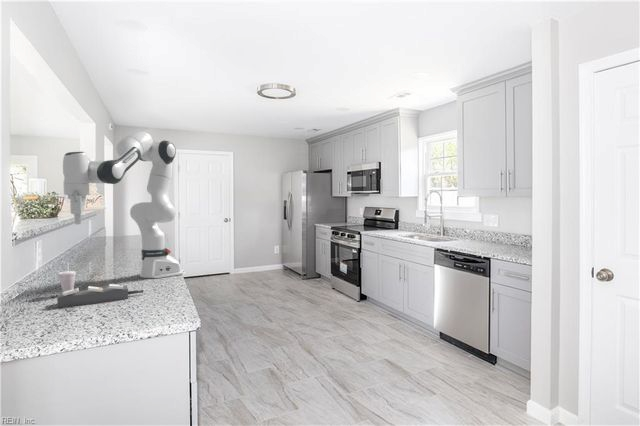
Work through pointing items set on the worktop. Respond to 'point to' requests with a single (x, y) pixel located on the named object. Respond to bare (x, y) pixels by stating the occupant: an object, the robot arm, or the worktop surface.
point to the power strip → (94, 296)
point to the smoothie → (67, 279)
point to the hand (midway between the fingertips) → (78, 224)
